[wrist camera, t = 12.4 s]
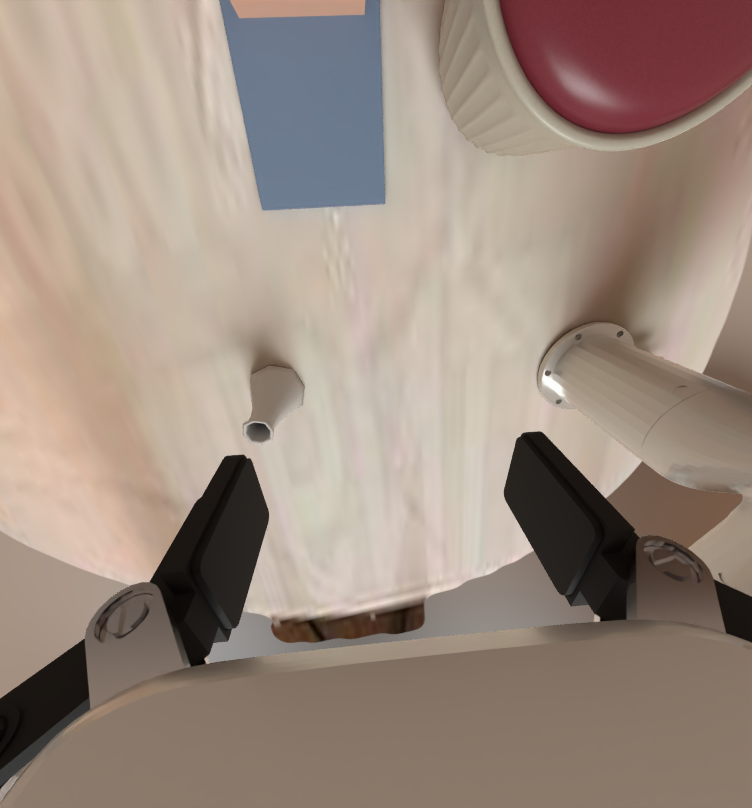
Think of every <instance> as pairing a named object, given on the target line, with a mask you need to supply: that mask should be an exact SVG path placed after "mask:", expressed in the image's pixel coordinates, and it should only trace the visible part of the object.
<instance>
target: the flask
mask: <svg viewBox="0 0 752 808" xmlns="http://www.w3.org/2000/svg"><path fill="white" fill-rule="evenodd" d="M303 397H304V385H303V384H302V382H301V381H300V379H299V378H298V376H297V375H296V373H295V372H294V370H293V369H289V368H283V367H277V366H271V365H269V366H267V367H265V368H263V369H261V370H259V371H257V372H255V373H253V374H251V401H252V414H251V417H250V419H249V421H247V422H245V423H244V424H243V435H244V437H245V438H246V439H247V440H248V441H249V442H250V443H253V444H261V445H263V444H265V443H267V442H270V441H272V440H273V433H274V428H275V427H276V425H277V424H278V423H279V422H280V421H281V420H282V419H283V418H285V417H286V416H287V415H289V414H290V413H291V412H293V411H295V410H296V409H298V408H299V407H301V406H302V405H303Z"/></svg>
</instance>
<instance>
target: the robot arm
mask: <svg viewBox="0 0 752 808" xmlns="http://www.w3.org/2000/svg"><path fill="white" fill-rule="evenodd" d="M538 387H539V390H540V392H541V394H542V396H543V397H544V398H545V399H546V400H547V401H548V402H549V403H551V404H552V405H554V406H556V407H559V408H563V409H577V410H578V411H580V412H581V413H582V414H583V415H585V416H586V417H587V418H588V419H590V420H591V421H592V422H594V423H595V424H596V425H597V426H599V427H600V428H601V429H602V430H604V431H605V432H606V433H608V434H609V435H610V436H611V437H613V438H614V439H615V440H616V441H618V442H619V443H620V444H622V445H623V446H624V447H625V448H627V449H628V450H629V451H630V452H632V453H633V454H634V455H636V456H637V457H638V458H639V459H641V460H642V461H643V462H644V463H646V464H647V465H648V466H650V467H651V468H652V469H654V470H655V471H656V472H658V473H659V474H660V475H662V476H663V477H665V478H667V479H669V480H671V481H672V482H675V483H677V484H680V485H683V486H686V487H690V488H694V489H699V490H706V491H714V492H725V493H739V494H742V495H743V501H742V502H741V504H740V505H738V507H736V508H735V509H734V510H733V511H732V512H731V513H730V514H729V516H728V517H727V518H726V519H724V520H723V521H722V522H721V523H719V524H718V525H717V526H715V527H714V528H713V529H712V530H710V531H709V532H708V533H707V534H706V535H704V536H703V537H702V538H700V539H699V540H698V541H697V542H696V543H694V544H693V545H692V546H690V547H689V548H688V549H687V548H686V547H684V546H683V545H681V544H679V543H677V542H675V541H673V540H670V539H667V538H664V537H661V536H654V535H647V536H643V537H641V538H639V537H638V536H637V535H636V534H635V533H634V530H635V529H634V528H633V527H632V526H631V525H630V524H629V523H628V522H627V521H626V520H625V519H624V518H623V516H621V514H620V513H619V512H618V511H617V510H616V509H615V508H614V507H613V506H612V505H611V504H610V503H609V502H608V501H607V500H606V499H605V498H604V497H603V495H602V494H601V493H600V492H599V491H598V490H597V489H596V488H595V487H594V486H593V485H592V484H591V483H590V482H589V481H588V480H587V479H586V478H585V477H584V475H583V474H582V473H581V472H580V471H579V470H578V469H577V468H576V467H575V466H574V465H573V464H572V463H571V462H570V461H569V460H568V459H567V458H566V457H565V456H564V454H563V453H562V452H561V451H560V450H559V449H558V448H557V447H556V446H555V445H554V444H553V443H552V442H551V441H550V440H549V439H548V438H547V437H546V436H545V434H543V433H542V432H526V433H523V434H522V435H521V437H518V438H517V440H516V444H515V448H514V452H513V456H512V460H511V464H510V468H509V472H508V476H507V480H506V484H505V488H504V497H505V500H506V502H507V504H508V506H509V507H510V509H511V511H512V513H513V514H514V516H515V518H516V520H517V521H518V523H519V525H520V527H521V528H522V530H523V532H524V534H525V535H526V537H527V539H528V541H529V542H530V544H531V546H532V548H533V549H534V551H535V553H536V554H537V556H538V558H539V560H540V561H541V563H542V565H543V567H544V569H545V570H546V572H547V574H548V576H549V577H550V579H551V581H552V583H553V584H554V586H555V588H556V589H557V591H558V592H559V593H560V594H561V595H565V597H566V598H567V600H568V602H569V604H570V605H571V606H579V605H589V606H590V607H591V609H592V610H593V612H594V614H595V615H594V622H589V623H576V624H564V625H553V626H543V627H533V628H523V629H513V630H503V631H493V632H482V633H473V634H463V635H453V636H444V637H434V638H424V639H415V640H405V641H396V642H386V643H376V644H367V645H358V646H349V647H340V648H330V649H322V650H312V651H303V652H294V653H285V654H276V655H268V656H260V657H253V658H245V659H237V660H230V661H222V662H215V663H210V662H209V660H208V657H207V656H208V655H209V654H210V651H211V648H212V645H213V643H216V642H226V641H228V640H229V637H230V634H231V630H232V629H233V628H236V627H237V626H238V624H239V621H240V617H241V614H242V611H243V607H244V604H245V601H246V597H247V594H248V590H249V587H250V583H251V580H252V576H253V573H254V569H255V566H256V563H257V559H258V556H259V552H260V549H261V545H262V542H263V538H264V535H265V531H266V528H267V525H268V521H269V511H268V508H267V505H266V502H265V499H264V496H263V493H262V490H261V487H260V484H259V481H258V478H257V475H256V472H255V469H254V466H253V463H252V461H251V459H249V458H248V459H247V458H246V456H245V455H232V456H226V457H224V459H223V460H222V462H221V464H220V466H219V467H218V469H217V471H216V473H215V474H214V476H213V478H212V480H211V481H210V483H209V485H208V487H207V489H206V490H205V492H204V494H203V496H202V497H201V498H200V499H198V500H197V502H196V503H195V504H194V506H193V508H192V510H191V511H190V513H189V515H188V517H187V518H186V520H185V522H184V523H183V525H182V527H181V529H180V530H179V532H178V534H177V536H176V537H175V539H174V541H173V542H172V544H171V546H170V548H169V549H168V551H167V553H166V555H165V556H164V558H163V560H162V561H161V563H160V565H159V567H158V568H157V570H156V572H155V574H154V575H153V577H152V579H151V580H150V582H141V583H138V584H134V585H131V586H129V587H127V588H125V589H123V590H121V591H120V592H118V593H117V594H115V595H114V596H113V597H111V598H110V599H109V600H108V601H107V602H106V603H105V604H104V605H103V606H102V607H100V608H99V610H98V611H97V612H96V614H95V615H94V617H93V618H92V619H91V621H90V623H89V625H88V627H87V629H86V635H85V639H83V640H82V641H81V642H79V643H78V644H77V645H75V646H74V647H72V648H71V649H69V650H68V651H67V652H65V653H64V654H62V655H61V656H60V657H58V658H57V659H55V660H54V661H52V662H51V663H50V664H48V665H47V666H45V667H44V668H43V669H41V670H40V671H38V672H37V673H36V674H34V675H33V676H32V677H30V678H29V679H27V680H26V681H24V682H23V683H22V684H20V685H19V686H17V687H16V688H14V689H13V690H12V691H10V692H9V693H7V694H6V695H5V696H3V697H2V698H1V699H0V808H752V394H751V393H748V392H746V391H743V390H741V389H738V388H735V387H733V386H730V385H728V384H725V383H723V382H720V381H718V380H716V379H713V378H711V377H708V376H706V375H703V374H701V373H698V372H696V371H693V370H691V369H688V368H686V367H683V366H681V365H679V364H676V363H674V362H671V361H669V360H666V359H664V358H663V357H660V356H656V355H654V354H651V353H649V352H646V351H644V350H641V349H639V348H637V347H635V345H634V340H633V338H632V336H631V334H630V333H629V332H628V331H627V330H626V329H624V328H623V327H621V326H619V325H616V324H613V323H609V322H593V323H589V324H585V325H582V326H580V327H577V328H575V329H573V330H572V331H570V332H568V333H567V334H565V335H564V336H563V337H562V338H560V339H559V340H558V341H557V342H556V343H555V344H554V345H553V346H552V347H551V348H550V350H549V351H548V353H547V354H546V355H545V357H544V359H543V361H542V363H541V365H540V369H539V372H538Z"/></svg>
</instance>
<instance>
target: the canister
mask: <svg viewBox="0 0 752 808" xmlns="http://www.w3.org/2000/svg"><path fill="white" fill-rule="evenodd" d="M438 53H439V58H440V66H439V74H440V76H441V81H442V92H443V93H444V96H445V100H446V106H447V108H448V109H449V111H450V113H451V118H452V120H453V121H454V122H455V123H456V125H457V127H458V130H459V131H460V132H462V133H463V134H464V135H465V137H466V139H467V140H468V141H471V142H472V143H473V144H474V145H475V146H476V147H477V148H482V149H484V150H485V151H486V152H487V153H495V154H497V155H500V156H504V155H510V156H519V155H528V154H536V153H542V152H549V151H554V150H559V149H565V148H571V147H577V146H579V147H582V148H586V149H590V150H596V151H608V152H615V151H627V150H634V149H639V148H643V147H647V146H650V145H654V144H657V143H660V142H663V141H665V140H668V139H670V138H673V137H675V136H677V135H679V134H682V133H684V132H686V131H688V130H689V129H691V128H693V127H695V126H697V125H698V124H700V123H702V122H703V121H705V120H707V119H708V118H710V117H711V116H713V115H714V114H716V113H717V112H719V111H720V110H721V109H723V108H724V107H726V106H727V105H728V104H730V103H731V102H732V101H733V100H735V99H736V98H737V97H738V96H740V95H741V94H742V93H743V92H745V91H746V90H747V89H748V88H749V87H750V86H751V85H752V0H445V3H444V10H443V15H442V20H441V25H440V43H439V51H438Z"/></svg>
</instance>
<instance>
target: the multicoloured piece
mask: <svg viewBox="0 0 752 808" xmlns="http://www.w3.org/2000/svg"><path fill="white" fill-rule="evenodd" d="M220 5H221V10H222V15H223V20H224V25H225V30H226V35H227V40H228V44H229V49H230V54H231V59H232V64H233V69H234V74H235V79H236V84H237V89H238V93H239V98H240V103H241V108H242V113H243V118H244V123H245V128H246V133H247V138H248V142H249V147H250V152H251V157H252V162H253V167H254V172H255V177H256V182H257V186H258V191H259V196H260V201H261V206H262V210H281V209H300V208H319V207H338V206H357V205H376V204H385V183H384V146H383V110H382V74H381V37H380V1H379V0H220Z"/></svg>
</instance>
